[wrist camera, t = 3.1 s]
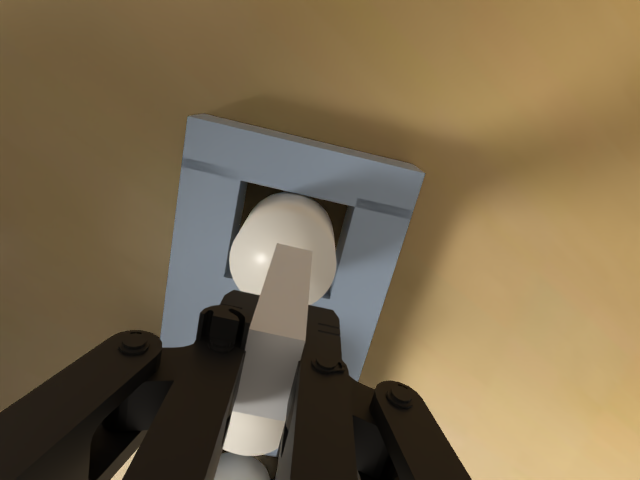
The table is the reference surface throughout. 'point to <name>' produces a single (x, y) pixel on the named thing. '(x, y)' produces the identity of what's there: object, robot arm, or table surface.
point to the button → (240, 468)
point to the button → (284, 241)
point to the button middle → (252, 434)
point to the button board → (298, 177)
